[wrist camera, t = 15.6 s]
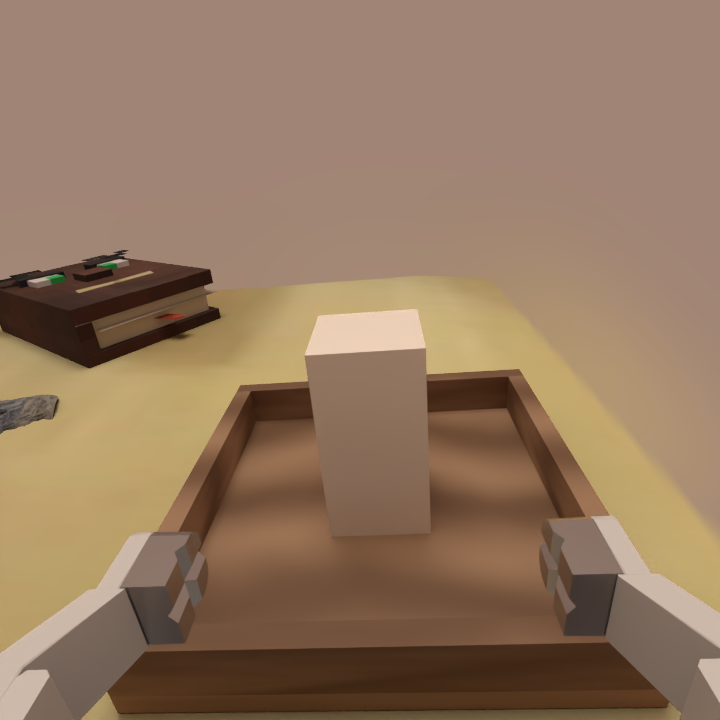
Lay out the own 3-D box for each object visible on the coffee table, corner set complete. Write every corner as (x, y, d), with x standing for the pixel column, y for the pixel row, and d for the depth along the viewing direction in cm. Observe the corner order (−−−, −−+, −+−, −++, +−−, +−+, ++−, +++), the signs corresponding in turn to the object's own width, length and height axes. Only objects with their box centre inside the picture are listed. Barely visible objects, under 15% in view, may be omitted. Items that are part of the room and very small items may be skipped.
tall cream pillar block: (430, 533, 23) (425, 348, 19) (330, 536, 24) (304, 355, 20) (422, 470, 28) (416, 309, 24) (338, 473, 28) (318, 315, 24)
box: (667, 707, 17) (687, 640, 15) (118, 712, 18) (88, 652, 17) (516, 412, 35) (519, 369, 33) (249, 426, 36) (240, 385, 35)
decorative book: (63, 309, 44) (-37, 279, 61) (89, 381, 47) (-13, 333, 65) (228, 261, 58) (108, 248, 75) (240, 320, 61) (122, 294, 78)
